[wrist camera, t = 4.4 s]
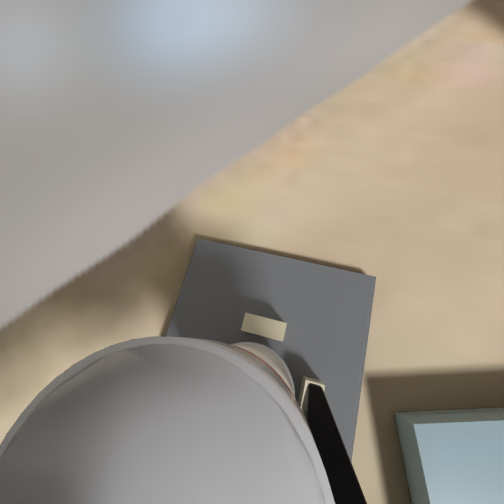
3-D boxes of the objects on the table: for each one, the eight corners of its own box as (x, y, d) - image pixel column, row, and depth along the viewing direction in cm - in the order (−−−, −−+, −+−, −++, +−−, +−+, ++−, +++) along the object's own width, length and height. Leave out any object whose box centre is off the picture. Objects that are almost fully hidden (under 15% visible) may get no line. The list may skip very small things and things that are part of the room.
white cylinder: (298, 437, 14) (384, 875, 2) (205, 441, 14) (-101, 843, 3) (288, 339, 15) (314, 325, 4) (205, 345, 16) (4, 346, 4)
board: (329, 583, 14) (340, 638, 12) (118, 499, 16) (86, 529, 13) (371, 280, 19) (386, 269, 16) (201, 242, 21) (190, 228, 18)
